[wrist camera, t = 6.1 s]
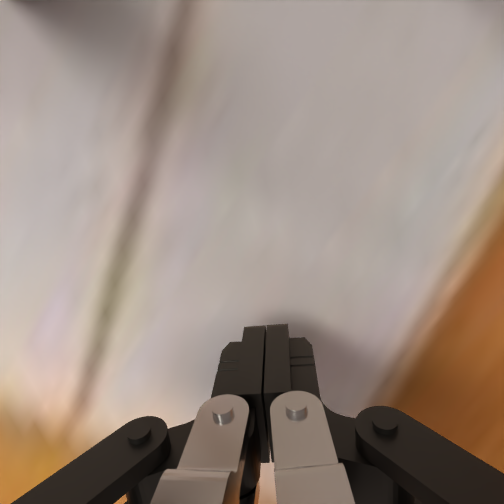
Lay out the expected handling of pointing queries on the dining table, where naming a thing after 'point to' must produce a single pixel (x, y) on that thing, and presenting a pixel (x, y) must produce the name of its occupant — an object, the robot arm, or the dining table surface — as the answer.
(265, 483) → the dining table surface
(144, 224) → the dining table surface
